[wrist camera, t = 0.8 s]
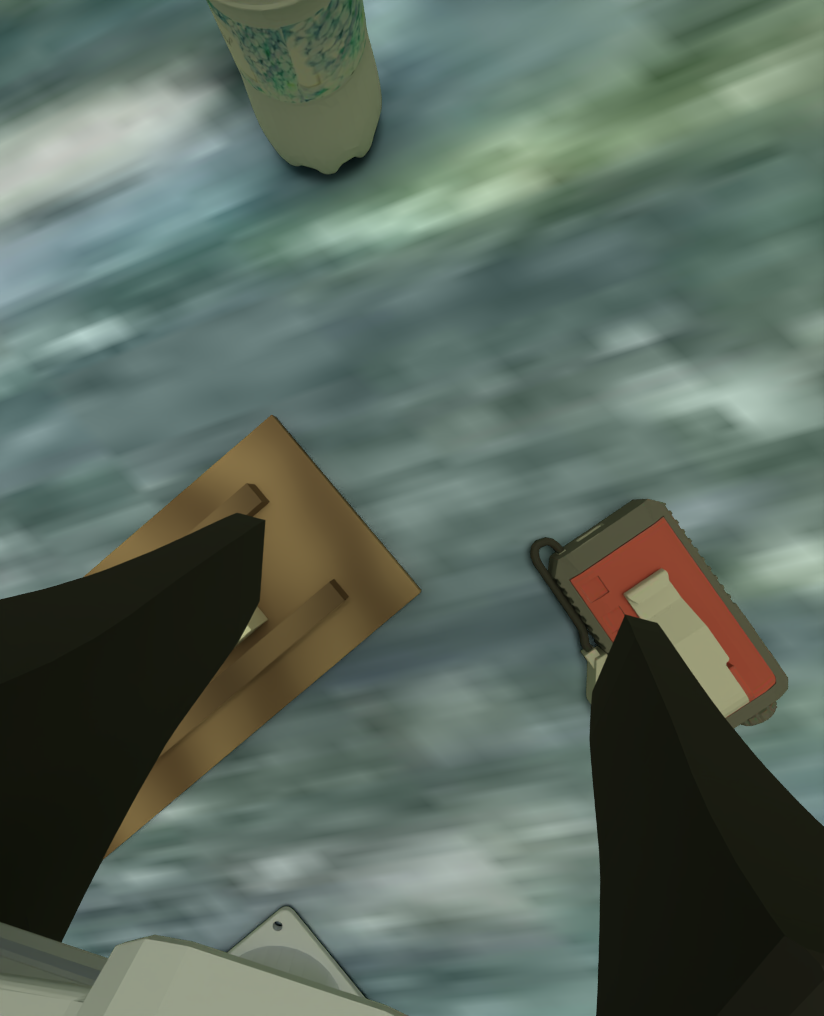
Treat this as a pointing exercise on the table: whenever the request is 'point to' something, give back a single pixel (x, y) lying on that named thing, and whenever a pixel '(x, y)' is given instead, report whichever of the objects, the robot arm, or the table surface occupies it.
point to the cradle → (269, 599)
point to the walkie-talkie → (662, 606)
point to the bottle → (306, 75)
